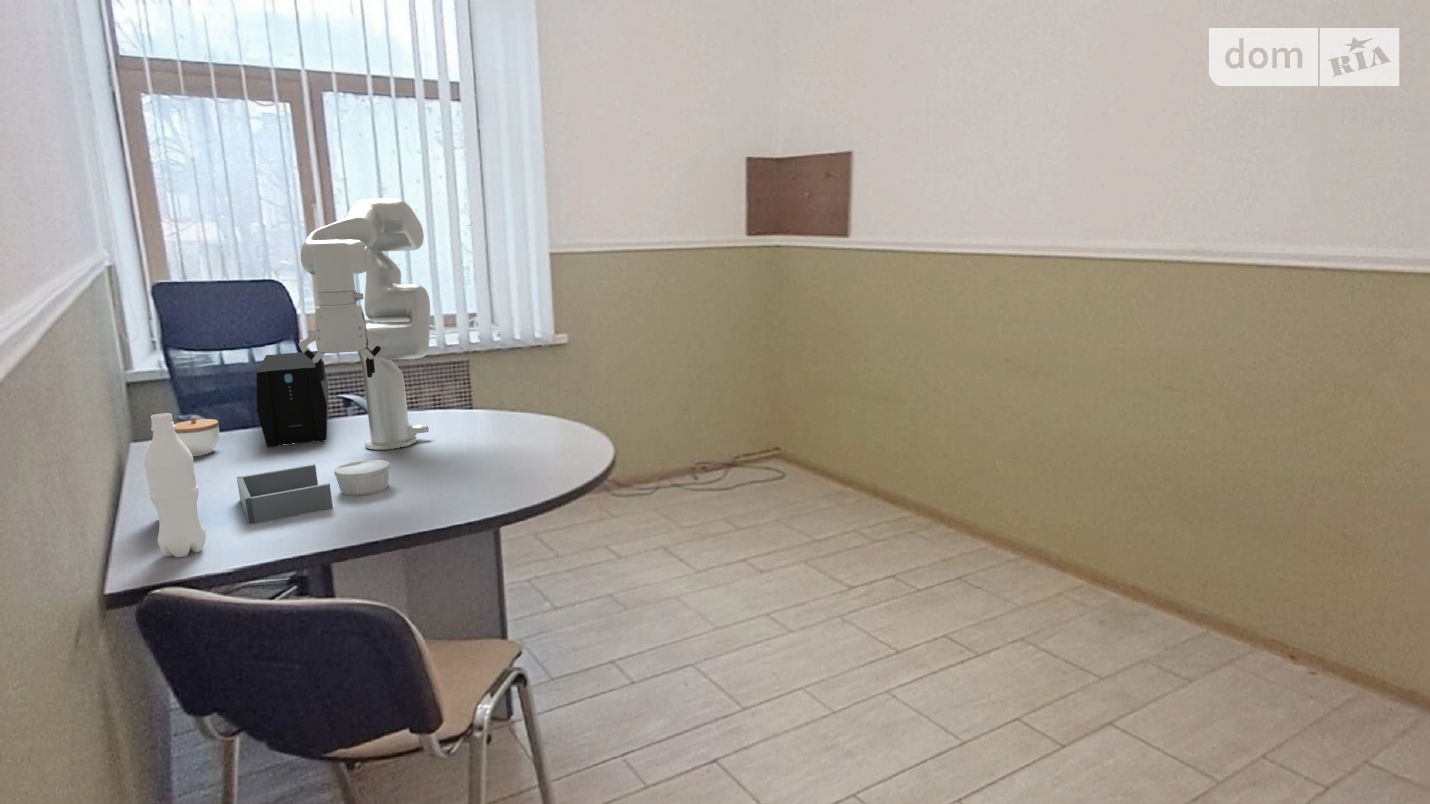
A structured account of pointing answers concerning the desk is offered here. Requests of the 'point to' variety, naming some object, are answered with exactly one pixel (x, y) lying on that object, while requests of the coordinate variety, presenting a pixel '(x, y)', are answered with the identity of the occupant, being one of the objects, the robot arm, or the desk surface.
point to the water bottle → (173, 489)
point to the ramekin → (363, 477)
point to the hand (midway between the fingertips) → (346, 378)
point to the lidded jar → (198, 435)
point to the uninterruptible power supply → (291, 400)
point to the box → (283, 493)
